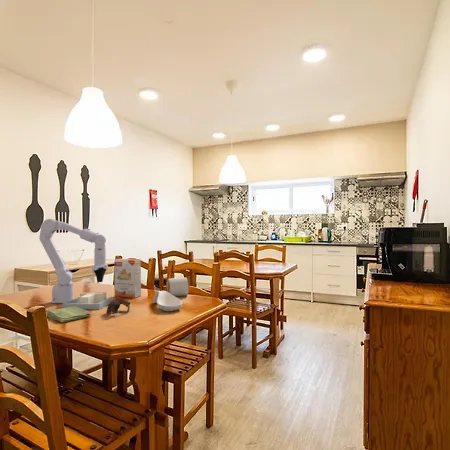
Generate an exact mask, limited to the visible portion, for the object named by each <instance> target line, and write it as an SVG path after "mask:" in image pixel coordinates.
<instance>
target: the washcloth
mask: <svg viewBox="0 0 450 450" xmlns="http://www.w3.org/2000/svg"><path fill="white" fill-rule="evenodd" d="M46 315H47V316H48V317H47V316H46V317H47V318H49V317H50V318H49V319H52V320H54V319H55V320H54V321H58V322H60V323H61V324H64V323H69V322H72V321H77V320H80V319H84V318H89V317H91V312H90V311H88V309H80V308H78V307H75V306H74V307H68V308H62V307H61V308H54V309H49V310H47V312H46Z"/></svg>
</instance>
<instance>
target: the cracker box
mask: <svg viewBox="0 0 450 450" xmlns="http://www.w3.org/2000/svg"><path fill="white" fill-rule="evenodd" d="M141 264H142V263H141V259H140V258H139V259H137V258H116V259H114V297H116V296H117V297H120V298H131V299H136V298H139V297H141V296H142V277H141V275H142V274H141V273H142V271H141V268H142V267H141V266H142V265H141Z"/></svg>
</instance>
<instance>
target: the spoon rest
mask: <svg viewBox="0 0 450 450" xmlns="http://www.w3.org/2000/svg"><path fill="white" fill-rule="evenodd" d="M152 303H153V304H157V307H158V308H159V309H160V310H162V311H163V310H164V311H163V312H175V311H177V310H179V309H180V308H181V307H182V305H183V303H184V302H183V301H182V300H181V299H180V298H178V297H177V296H173V295H171V294H170V293H168V291H166V290H161V291H160V290H157V291H156V292H155V294H154V296H153V299H152ZM174 310H175V311H174Z"/></svg>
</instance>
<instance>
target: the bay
mask: <svg viewBox="0 0 450 450" xmlns="http://www.w3.org/2000/svg"><path fill="white" fill-rule="evenodd" d="M113 299H114V298H113V296H109V297H108V298H107V297H106V299H105V300H104V301H102V302H100V303H80V296H77V297H73V299H72V300H70V301H67V302H65V303H61V309H62V308H68V307H74V306H75V307H78V308H80V309H84V310H101V309H103V308H104V307H106V306H108V305H109V303H110V302H111V300H113Z"/></svg>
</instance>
